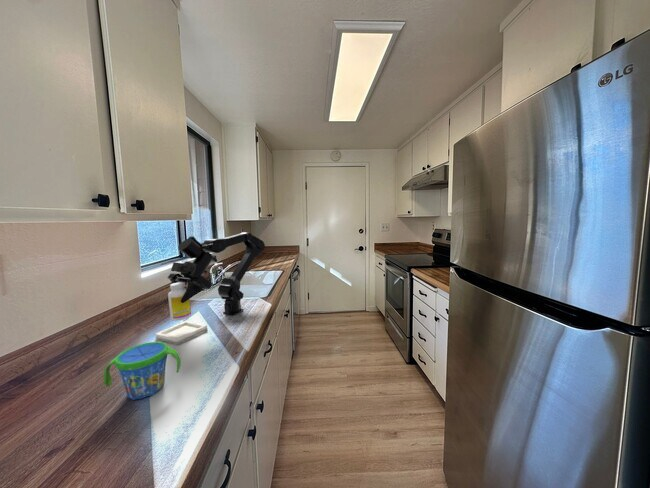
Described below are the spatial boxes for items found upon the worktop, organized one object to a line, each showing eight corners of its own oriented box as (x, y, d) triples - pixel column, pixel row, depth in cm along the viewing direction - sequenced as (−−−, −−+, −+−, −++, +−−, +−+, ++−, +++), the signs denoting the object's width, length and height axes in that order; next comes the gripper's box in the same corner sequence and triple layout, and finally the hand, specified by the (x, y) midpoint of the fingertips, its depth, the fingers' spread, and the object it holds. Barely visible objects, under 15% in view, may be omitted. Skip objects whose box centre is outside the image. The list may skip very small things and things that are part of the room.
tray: (186, 325, 101) (186, 320, 101) (207, 330, 96) (207, 325, 95) (156, 339, 90) (155, 333, 90) (177, 345, 85) (176, 339, 85)
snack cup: (187, 372, 69) (184, 337, 68) (173, 398, 59) (169, 357, 58) (122, 382, 66) (117, 346, 65) (96, 412, 56) (89, 369, 54)
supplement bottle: (194, 316, 93) (191, 282, 91) (175, 323, 88) (171, 287, 86) (186, 312, 97) (182, 280, 95) (167, 318, 92) (163, 284, 90)
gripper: (169, 252, 97) (142, 288, 89) (201, 254, 89) (173, 293, 80) (190, 268, 105) (167, 302, 97) (221, 271, 97) (198, 308, 88)
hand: (175, 301), depth 90 cm, fingers closed on supplement bottle, 7 cm apart
